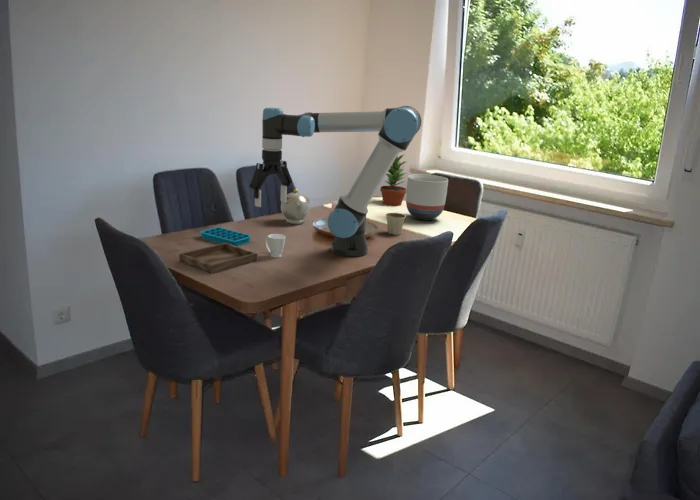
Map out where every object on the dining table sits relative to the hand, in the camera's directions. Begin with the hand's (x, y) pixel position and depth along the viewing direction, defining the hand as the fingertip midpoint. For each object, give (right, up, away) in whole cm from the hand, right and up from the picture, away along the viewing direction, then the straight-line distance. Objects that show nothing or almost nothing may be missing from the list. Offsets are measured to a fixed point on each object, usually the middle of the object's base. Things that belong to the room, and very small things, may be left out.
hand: (270, 204), depth 233 cm
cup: (+1, -20, +2) cm, 20 cm away
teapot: (+5, -5, +52) cm, 52 cm away
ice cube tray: (-21, -14, +17) cm, 31 cm away
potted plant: (+55, +8, +103) cm, 117 cm away
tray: (-18, -22, -9) cm, 30 cm away
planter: (+69, -2, +74) cm, 101 cm away
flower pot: (+51, -10, +44) cm, 69 cm away
